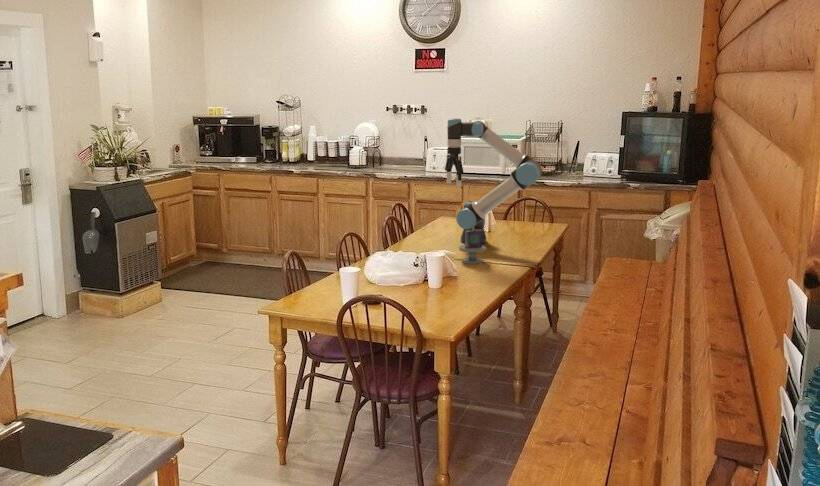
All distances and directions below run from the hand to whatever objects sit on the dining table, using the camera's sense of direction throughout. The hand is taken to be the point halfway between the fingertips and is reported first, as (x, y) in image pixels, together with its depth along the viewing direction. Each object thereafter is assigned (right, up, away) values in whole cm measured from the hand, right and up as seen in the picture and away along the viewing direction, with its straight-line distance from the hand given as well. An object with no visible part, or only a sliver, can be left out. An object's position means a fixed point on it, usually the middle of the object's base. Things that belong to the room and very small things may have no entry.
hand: (453, 184), depth 412 cm
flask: (+8, -35, -32) cm, 48 cm away
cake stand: (+8, -42, -31) cm, 53 cm away
